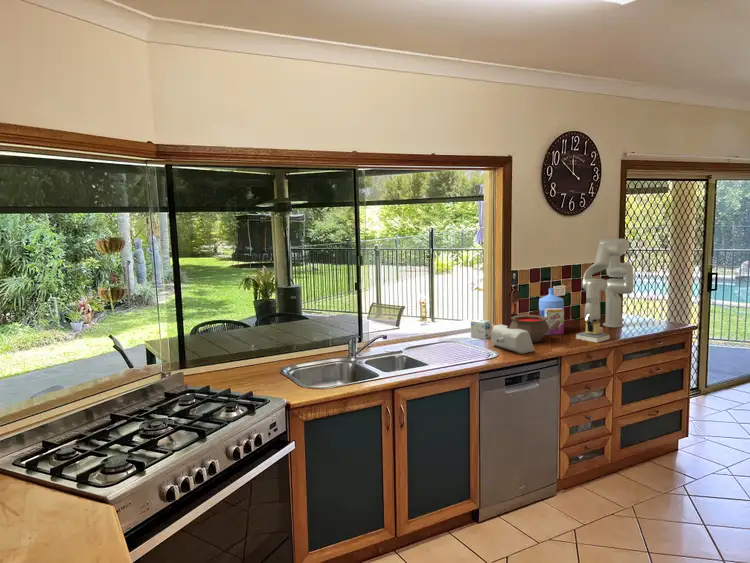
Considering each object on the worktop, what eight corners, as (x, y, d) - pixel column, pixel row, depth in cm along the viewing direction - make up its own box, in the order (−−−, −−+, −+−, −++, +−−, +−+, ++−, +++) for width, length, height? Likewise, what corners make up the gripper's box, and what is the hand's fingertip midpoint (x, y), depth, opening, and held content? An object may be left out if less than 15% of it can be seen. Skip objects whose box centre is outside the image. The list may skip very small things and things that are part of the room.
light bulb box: (490, 337, 336) (490, 320, 334) (485, 339, 331) (484, 322, 330) (476, 335, 343) (476, 319, 342) (470, 337, 338) (470, 320, 337)
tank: (484, 347, 313) (483, 326, 311) (505, 343, 319) (505, 323, 318) (512, 356, 290) (512, 334, 289) (535, 352, 297) (534, 330, 295)
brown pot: (531, 346, 309) (531, 319, 307) (500, 339, 329) (500, 313, 327) (557, 339, 322) (557, 313, 320) (526, 333, 342) (526, 308, 340)
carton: (590, 331, 325) (590, 319, 324) (599, 332, 319) (600, 321, 318) (585, 332, 322) (585, 321, 321) (595, 334, 317) (595, 322, 316)
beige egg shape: (597, 334, 333) (597, 326, 332) (604, 335, 329) (604, 327, 328) (592, 335, 330) (592, 327, 330) (599, 336, 326) (600, 328, 326)
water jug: (558, 327, 356) (558, 286, 352) (567, 332, 340) (567, 289, 337) (535, 328, 355) (535, 287, 352) (543, 333, 340) (543, 290, 336)
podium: (588, 335, 330) (588, 330, 330) (609, 339, 319) (609, 334, 319) (575, 338, 323) (575, 333, 323) (596, 342, 312) (597, 337, 311)
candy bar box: (546, 335, 335) (546, 309, 333) (544, 333, 340) (544, 308, 338) (564, 334, 335) (564, 309, 333) (562, 333, 340) (562, 307, 338)
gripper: (595, 298, 326) (595, 327, 328) (579, 301, 316) (578, 331, 319) (606, 299, 320) (606, 329, 322) (590, 303, 310) (590, 333, 313)
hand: (592, 330), depth 320 cm, fingers closed on carton, 4 cm apart
